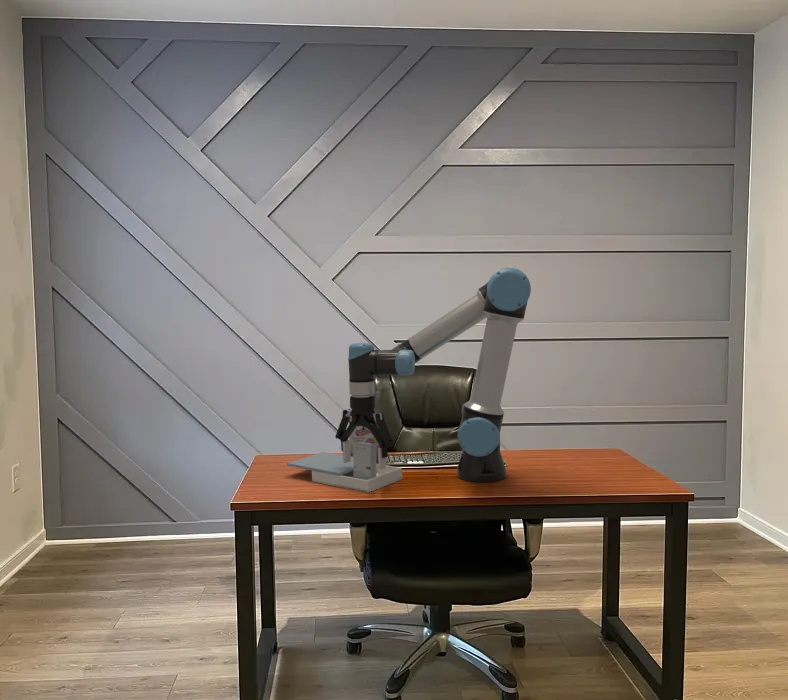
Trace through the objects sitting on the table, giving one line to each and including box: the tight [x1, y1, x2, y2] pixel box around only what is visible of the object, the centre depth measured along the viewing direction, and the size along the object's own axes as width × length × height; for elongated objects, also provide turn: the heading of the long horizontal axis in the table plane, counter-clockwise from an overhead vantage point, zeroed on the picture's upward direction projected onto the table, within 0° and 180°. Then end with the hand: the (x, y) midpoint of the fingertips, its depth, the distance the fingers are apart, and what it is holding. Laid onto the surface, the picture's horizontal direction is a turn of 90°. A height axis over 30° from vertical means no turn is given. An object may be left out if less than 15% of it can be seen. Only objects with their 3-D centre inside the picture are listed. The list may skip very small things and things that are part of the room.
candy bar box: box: [348, 417, 380, 464], centre depth 234 cm, size 11×5×16 cm, turn 84°
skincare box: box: [353, 442, 377, 480], centre depth 208 cm, size 6×4×12 cm
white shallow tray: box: [311, 464, 403, 494], centre depth 215 cm, size 22×17×4 cm
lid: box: [286, 451, 353, 476], centre depth 220 cm, size 22×17×5 cm
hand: (364, 465), depth 208 cm, fingers open, 13 cm apart
